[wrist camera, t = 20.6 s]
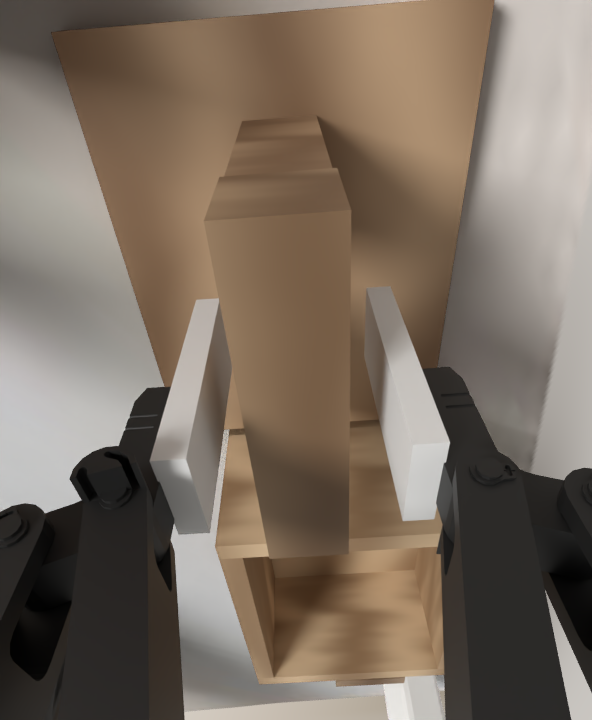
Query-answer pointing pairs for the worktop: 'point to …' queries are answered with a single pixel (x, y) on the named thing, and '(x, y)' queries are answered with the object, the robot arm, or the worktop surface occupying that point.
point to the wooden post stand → (287, 209)
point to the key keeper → (370, 681)
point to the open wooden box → (335, 580)
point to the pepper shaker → (414, 699)
